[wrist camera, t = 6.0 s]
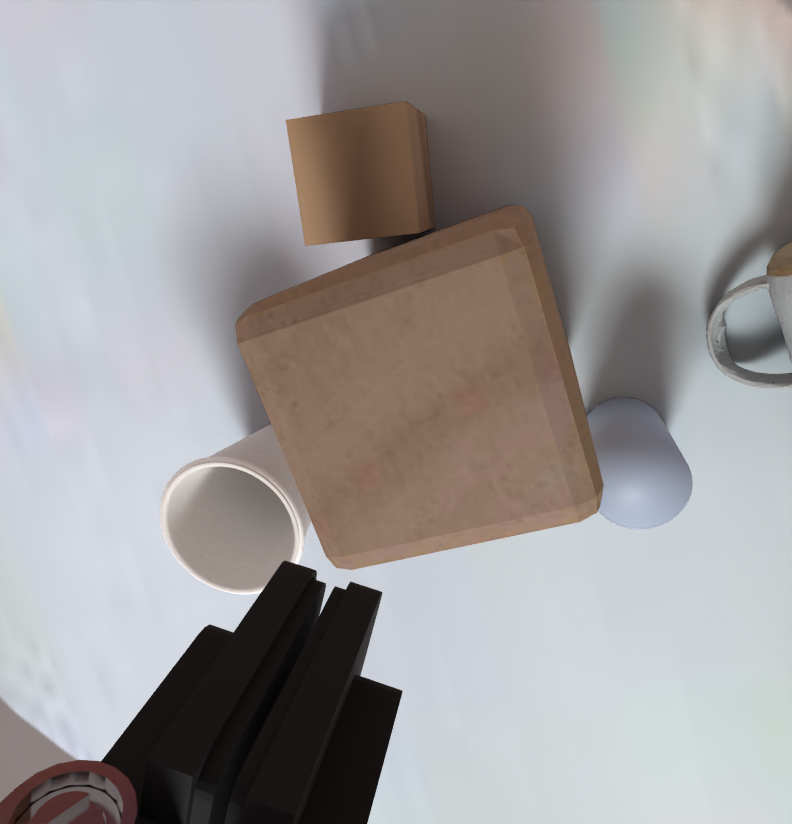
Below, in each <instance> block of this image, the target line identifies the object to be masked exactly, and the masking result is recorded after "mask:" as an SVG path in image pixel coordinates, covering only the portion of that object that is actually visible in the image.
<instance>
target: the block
mask: <svg viewBox="0 0 792 824" xmlns="http://www.w3.org/2000/svg"><path fill="white" fill-rule="evenodd" d="M236 333H237V343H238V346H239V348H240V351H241V353H242V355H243V358H244V360H245V363H246V365H247V368H248V370H249V372H250V375H251V377H252V380H253V382H254V384H255V387H256V389H257V392H258V394H259V396H260V399H261V401H262V404H263V406H264V408H265V411H266V413H267V416H268V418H269V420H270V423H271V425H272V428H273V430H274V432H275V435H276V437H277V440H278V442H279V444H280V447H281V449H282V452H283V454H284V456H285V459H286V461H287V464H288V466H289V468H290V471H291V473H292V476H293V478H294V480H295V483H296V485H297V488H298V490H299V492H300V495H301V497H302V500H303V502H304V504H305V507H306V509H307V512H308V514H309V516H310V519H311V521H312V524H313V526H314V528H315V531H316V533H317V536H318V538H319V540H320V543H321V545H322V548H323V550H324V552H325V555H326V557H327V558H328V559H329V560H330V561H331V562H332V564H333V565H334V566H335V567H336V568H341V569H349V570H353V569H358V568H362V567H367V566H372V565H377V564H382V563H386V562H391V561H396V560H401V559H405V558H410V557H415V556H420V555H424V554H429V553H434V552H439V551H443V550H448V549H453V548H458V547H462V546H467V545H472V544H477V543H481V542H486V541H491V540H496V539H501V538H505V537H510V536H515V535H520V534H524V533H529V532H534V531H539V530H543V529H548V528H553V527H558V526H562V525H567V524H572V523H577V522H580V521H582V520H584V519H586V518H588V517H589V516H591V515H593V514H595V513H597V511H598V510H599V508H600V505H601V499H602V493H603V487H604V484H603V480H602V476H601V472H600V468H599V464H598V460H597V456H596V452H595V448H594V444H593V440H592V436H591V432H590V428H589V424H588V420H587V416H586V412H585V408H584V404H583V400H582V396H581V392H580V388H579V384H578V380H577V376H576V372H575V368H574V364H573V360H572V355H571V352H570V348H569V345H568V341H567V337H566V334H565V330H564V327H563V323H562V320H561V316H560V313H559V309H558V306H557V302H556V298H555V295H554V291H553V288H552V284H551V281H550V277H549V274H548V270H547V267H546V263H545V259H544V256H543V252H542V249H541V245H540V242H539V238H538V235H537V231H536V228H535V224H534V220H533V217H532V216H531V214H530V213H529V212H528V211H527V209H526V208H525V207H524V206H518V205H508V206H505V207H502V208H500V209H497V210H494V211H491V212H489V213H486V214H483V215H480V216H477V217H475V218H472V219H469V220H466V221H463V222H461V223H458V224H455V225H452V226H449V227H447V228H444V229H441V230H438V231H436V232H433V233H430V234H427V235H424V236H422V237H419V238H416V239H413V240H410V241H408V242H405V243H402V244H399V245H396V246H394V247H391V248H388V249H385V250H383V251H380V252H377V253H374V254H372V255H370V256H367V257H365V258H362V259H360V260H357V261H355V262H353V263H350V264H348V265H345V266H343V267H341V268H338V269H336V270H333V271H331V272H328V273H326V274H324V275H321V276H319V277H316V278H314V279H311V280H309V281H307V282H304V283H302V284H299V285H297V286H295V287H292V288H290V289H287V290H285V291H282V292H280V293H278V294H275V295H273V296H270V297H268V298H266V299H263V300H261V301H258V302H256V303H253V304H252V305H251V306H250V307H249V308H248V309H247V310H246V311H245V312H244V313H243V314H242V315H241V316H240V317H239V318H238V320H237V323H236Z"/></svg>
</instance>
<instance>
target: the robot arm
mask: <svg viewBox="0 0 792 824" xmlns="http://www.w3.org/2000/svg"><path fill="white" fill-rule="evenodd" d="M316 576H317V572H316V570H313V569H310V568H307V567H304V566H301V565H298V564H295V563H292V562H289V561H286V560H285V561H283V562H282V563H281V565H280V566H279V567H278V569H277V570H276V572H275V573H274V575H273V576H272V578H271V579H270V580H269V582H268V583H267V585H266V586H265V588H264V589H263V591H262V592H261V594H260V595H259V596H258V598H257V599H256V601H255V602H254V604H253V605H252V607H251V608H250V610H249V611H248V612H247V614H246V615H245V617H244V618H243V620H242V621H241V623H240V624H239V626H238V627H237V628H236V630H235V631H234V633H233V632H230V631H227V630H224V629H221V628H218V627H215V626H213V625H208V626H206V627H205V628H204V629H203V630H202V631H201V632H200V633H199V634H198V636H197V637H196V638H195V640H194V641H193V642H192V644H191V645H190V646H189V648H188V649H187V650H186V651H185V653H184V654H183V655H182V657H181V658H180V659H179V661H178V662H177V663H176V665H175V666H174V667H173V668H172V670H171V671H170V672H169V674H168V675H167V676H166V678H165V679H164V680H163V682H162V683H161V684H160V685H159V687H158V688H157V689H156V691H155V692H154V693H153V695H152V696H151V697H150V699H149V700H148V701H147V702H146V704H145V705H144V706H143V708H142V709H141V710H140V712H139V713H138V714H137V715H136V717H135V718H134V719H133V721H132V722H131V723H130V725H129V726H128V727H127V729H126V730H125V731H124V732H123V734H122V735H121V736H120V738H119V739H118V740H117V742H116V743H115V744H114V746H113V747H112V748H111V749H110V751H109V752H108V753H107V755H106V756H105V757H104V759H103V760H102V761H101V762H99V761H89V760H75V761H70V762H65V763H59V764H56V765H54V766H51V767H49V768H47V769H45V770H42V771H40V772H38V773H36V774H34V775H33V776H31V777H30V778H29V779H27V780H26V781H25V782H23V783H22V784H20V785H19V786H18V787H17V788H15V789H14V790H13V791H12V792H11V793H10V794H9V795H8V796H7V797H5V798H4V799H3V800H2V801H1V802H0V824H367V822H368V819H369V815H370V811H371V807H372V804H373V800H374V796H375V792H376V789H377V785H378V781H379V777H380V774H381V770H382V766H383V762H384V759H385V755H386V751H387V748H388V744H389V740H390V736H391V733H392V729H393V725H394V721H395V718H396V714H397V710H398V706H399V703H400V699H401V695H402V690H399V689H396V688H393V687H390V686H387V685H384V684H381V683H378V682H375V681H373V680H370V679H367V678H364V677H361V676H360V675H361V671H362V667H363V664H364V660H365V656H366V653H367V649H368V645H369V641H370V638H371V634H372V630H373V627H374V623H375V619H376V615H377V612H378V608H379V604H380V600H381V596H382V592H380V591H377V590H374V589H371V588H368V587H365V586H362V585H359V584H356V583H353V582H350V583H349V585H348V587H347V589H346V590H345V589H342V588H339V587H336V586H335V587H334V589H333V591H332V593H331V594H330V596H329V598H328V600H327V602H326V604H325V606H324V608H323V610H322V612H321V614H320V610H321V606H322V601H323V597H324V593H325V588H326V584H325V583H323V582H320V581H317V580H316ZM319 614H320V616H319Z"/></svg>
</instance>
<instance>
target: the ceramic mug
mask: <svg viewBox="0 0 792 824" xmlns="http://www.w3.org/2000/svg"><path fill="white" fill-rule="evenodd" d="M760 288H767V289H768V290H769V293H770V297H771V300H772V303H773V306H774V309H775V312H776V314H777V317H778V321H779V323H780V325H781V328H782V332H783V335H784V338H785V343H786V347H787V350H788V353H789V357H790V360H791V362H792V242H790V243H788V244H787V245H785V246H784V247H782V248H781V249H779V250H778V251H777V252H776V253H775V254H774V255H773V257H772V258H771V260H770V262H769V264H768V266H767V274H766V275H764V276H760V277H757V278H753V279H751V280H748V281H746V282H744V283H743V284H741V285H739V286H738V287H736V288H734V289H733V290H731V291H730V292H728V293H727V294H726V295H725V296H724V297H723V298H722V299H721V300H720V301H719V302H718V304H717V305H716V307H715V308H714V310H713V312H712V314H711V316H710V318H709V321H708V325H707V328H706V330H707V334H706V338H707V345H708V349H709V353H710V356H711V358H712V359H713V361H714V363H715V364H716V366H717V368H718V369H719V370H720V371H721V372H723V373H724V374H725V375H726V376H728V377H730V378H731V379H734V380H736V381H738V382H740V383H743V384H747V385H750V386H755V387H763V388H792V373H786V374H766V373H757V372H753V371H749V370H746V369H743V368H742V367H740V366H738V365H736V364H735V363H734V361H733V359H731V358H730V356H729V351H728V347H727V344H726V341H725V334H724V329H725V327H726V323H725V321H724V320H723V312H724V310H725V309H726V308H727V307H728V306H729V305H730V304H731V303H732V302H733V301H734V300H736V299H738V298H740V297H742V296H744V295H746V294H748V293H750V292H753V291H757V290H758V289H760Z"/></svg>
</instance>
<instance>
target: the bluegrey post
mask: <svg viewBox="0 0 792 824" xmlns="http://www.w3.org/2000/svg"><path fill="white" fill-rule="evenodd" d="M586 416H587V420H588V424H589V428H590V432H591V436H592V440H593V444H594V448H595V452H596V456H597V460H598V464H599V468H600V472H601V476H602V480H603V484H604V487H603V493H602V499H601V505H600V508H599V510H598V511H599V512H600V514H601V515H603V516H604V517H605V518H606V519H608V520H609V521H611V522H613V523H615V524H617V525H619V526H622V527H626V528H632V529H647V528H652V527H656V526H659V525H662V524H664V523H666V522H668V521H670V520H671V519H673V518H674V517H675V516H677V515H678V514H679V513H680V512H681V511H682V510H683V508H684V507H685V506H686V504H687V502H688V500H689V498H690V495H691V491H692V475H691V471H690V469H689V466H688V464H687V462H686V461H685V459H684V457H683V455H682V454H681V452H680V450H679V448H678V447H677V445H676V443H675V441H674V440H673V438H672V436H671V434H670V433H669V431H668V429H667V427H666V426H665V424H664V422H663V420H662V419H661V417H660V415H659V414H658V413H657V412H656V410H655V409H654V408H652V407H651V406H650V405H648V404H647V403H645V402H643V401H641V400H638V399H634V398H627V397H620V398H613V399H610V400H607V401H604V402H602V403H600V404H598V405H597V406H596V407H594V408H593V409H592V410H591V411H590V412H589V413H588V414H587V415H586Z"/></svg>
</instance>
